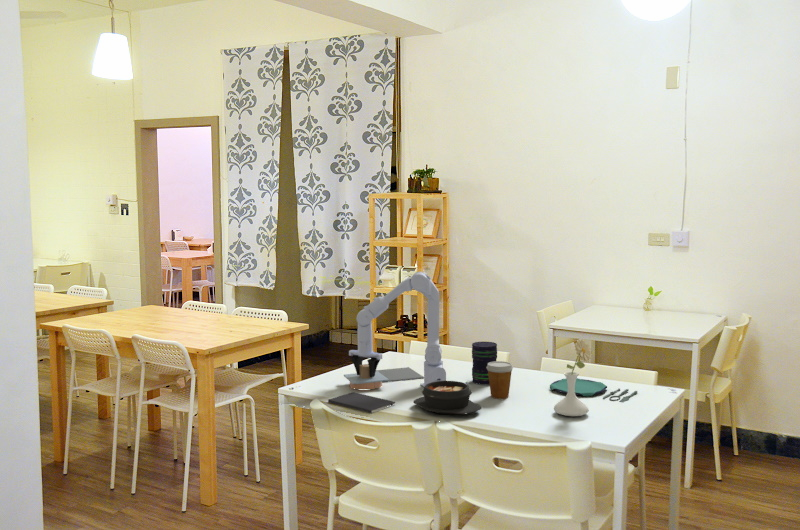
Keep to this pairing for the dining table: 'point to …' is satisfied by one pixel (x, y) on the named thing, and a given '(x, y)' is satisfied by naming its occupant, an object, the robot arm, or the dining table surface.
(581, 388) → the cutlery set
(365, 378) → the cover
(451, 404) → the casserole
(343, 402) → the notebook
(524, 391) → the dining table surface
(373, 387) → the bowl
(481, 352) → the storage jar
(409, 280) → the robot arm
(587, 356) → the flower in vase
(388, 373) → the mat
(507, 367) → the disposable coffee cup
